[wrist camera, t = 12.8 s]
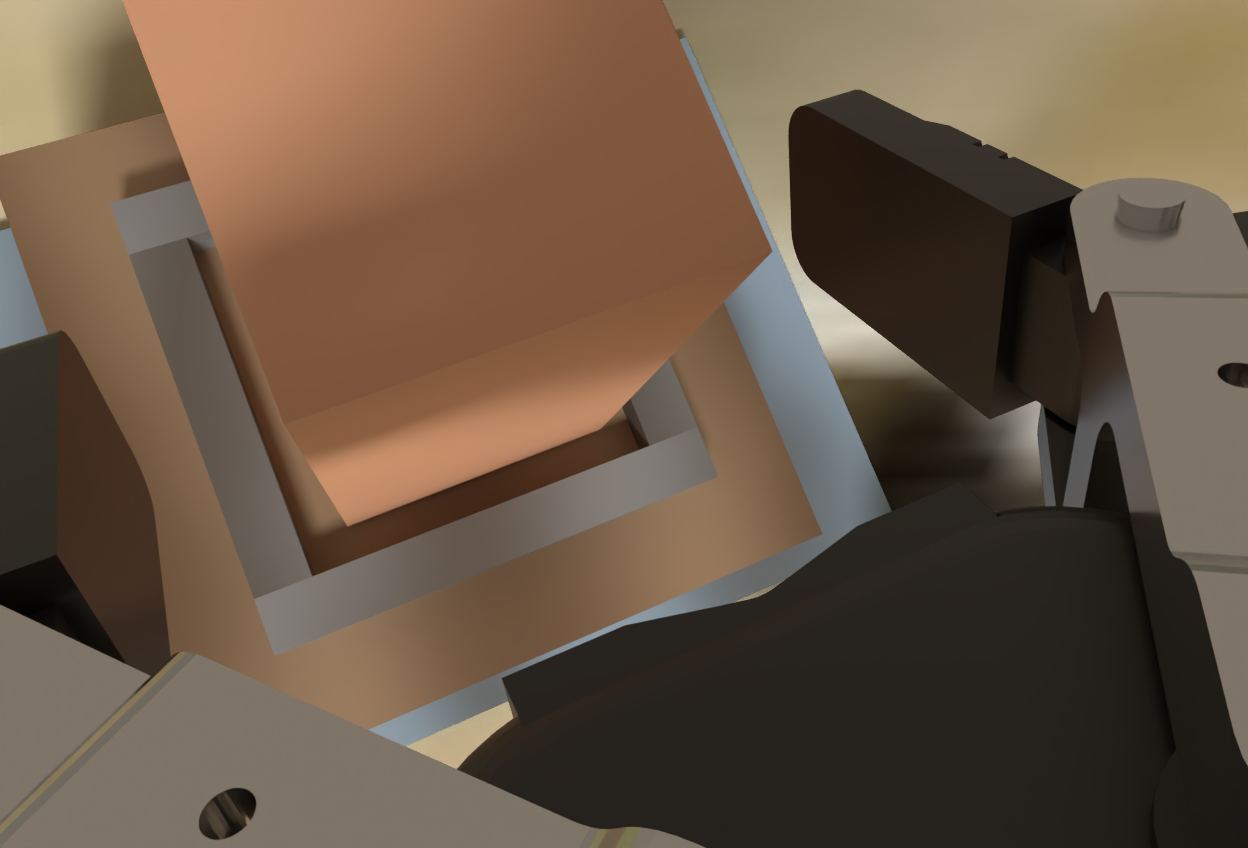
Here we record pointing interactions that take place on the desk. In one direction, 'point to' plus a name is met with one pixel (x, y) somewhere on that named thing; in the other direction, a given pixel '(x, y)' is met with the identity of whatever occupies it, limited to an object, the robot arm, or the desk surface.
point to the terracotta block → (451, 217)
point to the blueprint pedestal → (440, 523)
